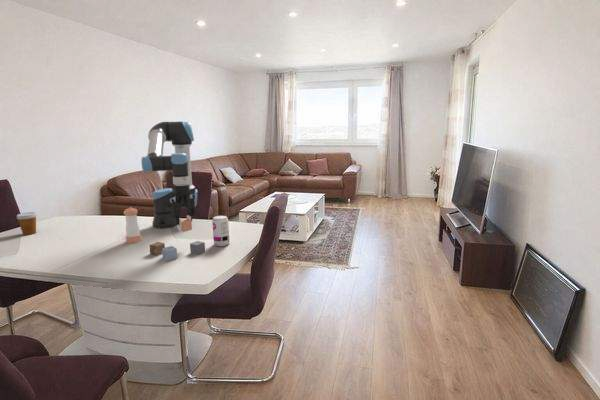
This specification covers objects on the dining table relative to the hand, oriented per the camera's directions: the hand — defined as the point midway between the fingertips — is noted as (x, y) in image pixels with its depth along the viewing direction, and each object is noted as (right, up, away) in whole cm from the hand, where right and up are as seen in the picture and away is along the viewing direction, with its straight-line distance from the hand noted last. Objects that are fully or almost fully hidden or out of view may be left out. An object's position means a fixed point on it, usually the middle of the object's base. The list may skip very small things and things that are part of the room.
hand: (184, 229), depth 180 cm
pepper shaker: (-33, -8, +14) cm, 36 cm away
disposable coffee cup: (-102, -5, +29) cm, 106 cm away
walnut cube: (-12, -12, -5) cm, 17 cm away
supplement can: (+17, -9, +7) cm, 21 cm away
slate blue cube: (-3, -13, -12) cm, 18 cm away
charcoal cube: (+8, -11, -4) cm, 15 cm away
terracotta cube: (0, 0, 0) cm, 0 cm away
